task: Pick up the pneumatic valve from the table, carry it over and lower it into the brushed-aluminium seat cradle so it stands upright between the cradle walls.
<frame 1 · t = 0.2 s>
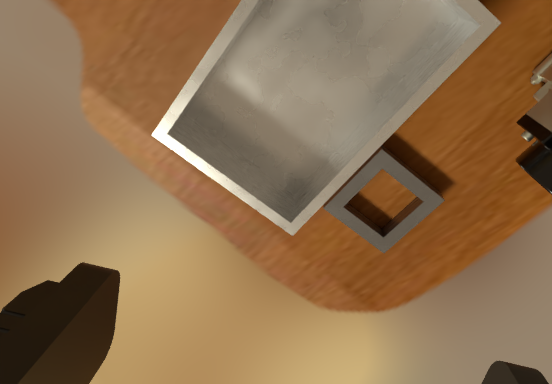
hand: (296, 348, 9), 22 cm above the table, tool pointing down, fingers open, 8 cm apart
gray square frame: (380, 196, 32), on the table
seat cradle: (311, 67, 28), on the table
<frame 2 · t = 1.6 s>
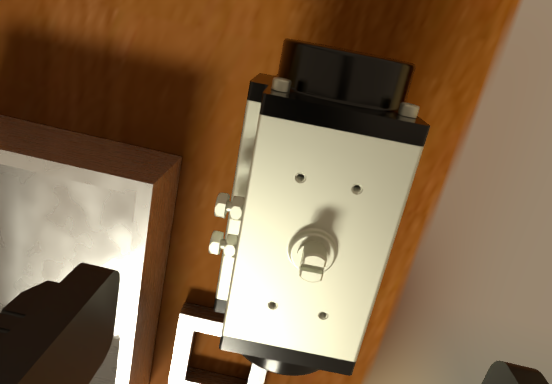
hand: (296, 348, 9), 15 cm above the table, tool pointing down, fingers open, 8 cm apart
gray square frame: (223, 350, 28), on the table
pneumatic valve: (303, 154, 24), on the table
seat cradle: (77, 263, 27), on the table
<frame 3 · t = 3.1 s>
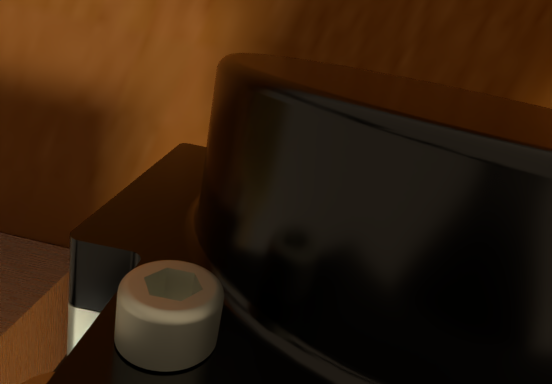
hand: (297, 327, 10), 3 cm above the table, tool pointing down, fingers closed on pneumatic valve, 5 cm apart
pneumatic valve: (301, 252, 13), on the table, touching gripper
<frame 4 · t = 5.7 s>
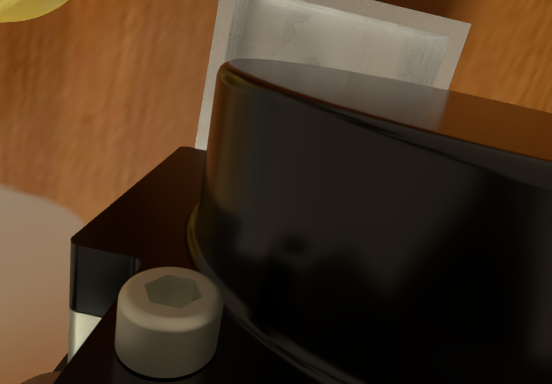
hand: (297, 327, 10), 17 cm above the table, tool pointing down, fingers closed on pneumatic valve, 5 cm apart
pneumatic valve: (301, 254, 13), point 14 cm above the table, touching gripper
seat cradle: (303, 150, 26), on the table
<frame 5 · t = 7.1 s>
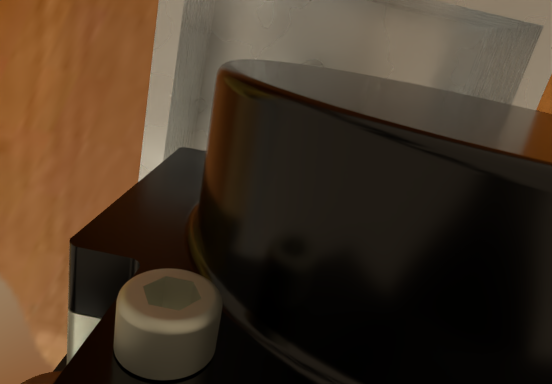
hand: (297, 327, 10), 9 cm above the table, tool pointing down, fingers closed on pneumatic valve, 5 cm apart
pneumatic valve: (300, 254, 13), point 6 cm above the table, touching gripper
seat cradle: (302, 190, 19), on the table
when the fingers open (6 cm above the table, at t = 8.2 s): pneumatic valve drops 1 cm, resting on seat cradle.
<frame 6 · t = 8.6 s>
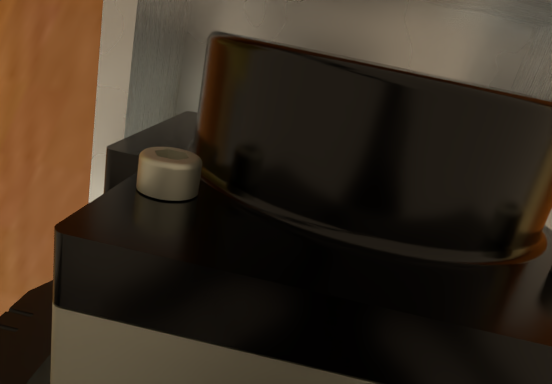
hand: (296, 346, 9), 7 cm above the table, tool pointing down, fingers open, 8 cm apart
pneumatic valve: (295, 230, 15), point 1 cm above the table, touching seat cradle
seat cradle: (302, 223, 15), on the table
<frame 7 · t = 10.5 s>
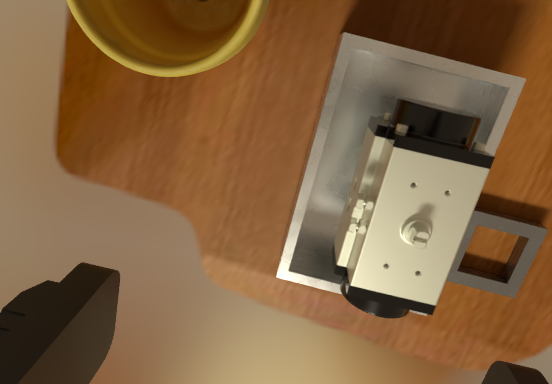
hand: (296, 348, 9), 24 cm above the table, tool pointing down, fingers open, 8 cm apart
gray square frame: (486, 248, 34), on the table
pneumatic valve: (376, 169, 32), point 1 cm above the table, touching seat cradle
seat cradle: (378, 168, 33), on the table
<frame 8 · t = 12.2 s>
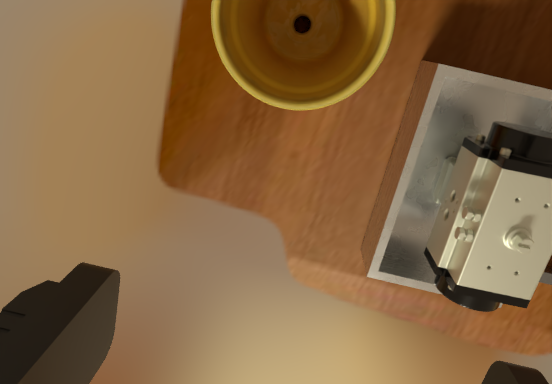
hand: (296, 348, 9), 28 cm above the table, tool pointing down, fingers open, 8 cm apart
plant pot: (303, 24, 33), on the table
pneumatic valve: (452, 178, 36), point 1 cm above the table, touching seat cradle
seat cradle: (452, 177, 36), on the table
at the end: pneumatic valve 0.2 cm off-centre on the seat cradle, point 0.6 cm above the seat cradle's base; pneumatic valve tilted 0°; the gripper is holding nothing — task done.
